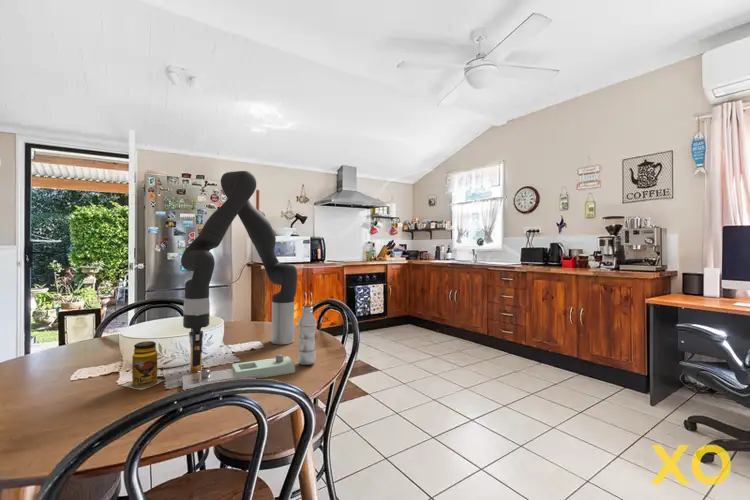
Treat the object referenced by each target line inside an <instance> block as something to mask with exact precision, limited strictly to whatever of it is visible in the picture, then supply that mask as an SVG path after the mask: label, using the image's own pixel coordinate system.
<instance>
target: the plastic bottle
mask: <svg viewBox="0 0 750 500" xmlns="http://www.w3.org/2000/svg"><path fill="white" fill-rule="evenodd" d="M301 313H302V314H301V316H300V317H299V319H298V321H297V326H298V336H299V337H298V338H299V340H298V343H299V344H298V351H297V357H296V358H297V362H298V364H299V365H301V366H309V365H313V364H314V363H315V362H316V359H317V351H316V344H315V343H316V342H315V341H316V340H315V337H316V328H317V319H316V317H315V316H314V314H313V313H314V307H313V306H311V305H305V306H304V305H303V306H302V310H301Z"/></svg>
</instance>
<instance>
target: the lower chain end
mask: <svg viewBox="0 0 750 500" xmlns="http://www.w3.org/2000/svg"><path fill="white" fill-rule="evenodd" d="M251 368H255V367H251ZM244 369H249V368H244ZM241 370H242V369H241ZM263 374H264V373H259V374H253V375H246V376H240V377H236V376H235V373H234V371H233V369H232V368H229V369H222V370H214V371H211V369H210V368H204V369H201V372H198V373H191V374H185V375H182V376H181V377H182V378H181V383H183V385H182V391H183V390H185V389H189V388H193V387H196V386H200V385H204V384H208V383H212V382H217V381H223V380H231V379H240V378H258V379H262V378H263ZM185 391H186V390H185Z"/></svg>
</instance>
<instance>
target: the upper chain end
mask: <svg viewBox="0 0 750 500" xmlns="http://www.w3.org/2000/svg"><path fill="white" fill-rule="evenodd" d="M231 365H232V366H231V367H232V368H231V369H233V371H234V373H235V376H236V377H240V376H246V375H253V374H259V373H264V374H263V378H269V376H270V377H275V376H276V377H277V376H282V375H287V374H294V373H296V362H294V360H292V359H291V357H290V356H287V355H286V356H284V354H281V353H279V354H276V355H275V357H274V358H267V359H265V358H264V359H258V360H253V361H245V362H236V363H232V364H231ZM251 367H255V368H251ZM244 368H249V369H244ZM241 369H242V370H241Z"/></svg>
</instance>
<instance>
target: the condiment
mask: <svg viewBox="0 0 750 500" xmlns="http://www.w3.org/2000/svg"><path fill="white" fill-rule="evenodd" d="M156 345H157V343H156V342H155V341H152V340H151V341H150V340H148V341H141V342H137V343H136V344H134V346H133V347H134V350H133V354H132V362H131V363H132V367H131V370H132V376H131V377H132V381H129V382H126V383H124V384H121V385H120V386H121V387H126V388H129V389H130V388H131V389H135V390H139V391H142V390H146V389H147V388H151V387H153V386H156V385H158V384H160V383H162V382H165V380H164V379H158V351H157V350H156V349H157V347H156Z"/></svg>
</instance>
